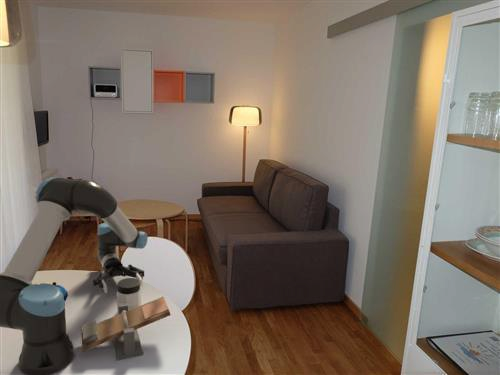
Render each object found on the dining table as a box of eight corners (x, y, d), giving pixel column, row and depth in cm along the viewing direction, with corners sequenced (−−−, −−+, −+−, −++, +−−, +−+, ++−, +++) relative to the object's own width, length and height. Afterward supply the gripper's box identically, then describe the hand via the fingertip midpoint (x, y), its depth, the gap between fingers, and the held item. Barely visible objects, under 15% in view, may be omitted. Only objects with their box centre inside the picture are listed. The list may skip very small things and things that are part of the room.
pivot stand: (116, 360, 126) (115, 335, 124) (111, 328, 142) (110, 305, 140) (143, 355, 129) (142, 330, 127) (135, 323, 145) (134, 301, 143)
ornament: (59, 313, 150) (57, 289, 147) (38, 310, 151) (36, 286, 149) (73, 302, 158) (71, 278, 155) (52, 299, 159) (51, 275, 157)
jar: (120, 320, 147) (119, 290, 144) (114, 309, 154) (113, 280, 151) (144, 313, 152) (144, 284, 149) (137, 303, 159) (137, 275, 156)
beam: (84, 354, 124) (79, 345, 123) (82, 331, 136) (79, 322, 135) (171, 317, 133) (168, 308, 132) (163, 298, 145) (160, 289, 143)
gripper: (141, 268, 183) (155, 288, 166) (82, 278, 171) (90, 302, 153) (140, 252, 182) (155, 271, 164) (81, 262, 169) (89, 284, 152)
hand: (124, 286), depth 159 cm, fingers open, 13 cm apart
